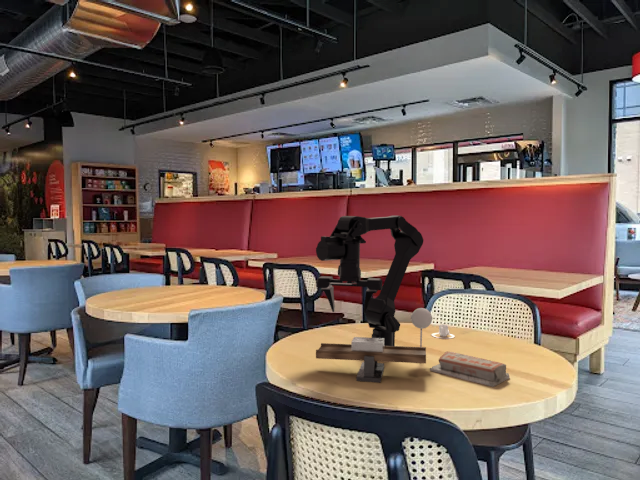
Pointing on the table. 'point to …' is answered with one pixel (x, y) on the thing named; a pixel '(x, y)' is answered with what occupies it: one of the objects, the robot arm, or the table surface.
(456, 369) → the packaged product
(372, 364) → the stand
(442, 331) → the teacup and saucer
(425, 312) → the lollipop
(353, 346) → the block
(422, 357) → the beam
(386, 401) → the table surface
